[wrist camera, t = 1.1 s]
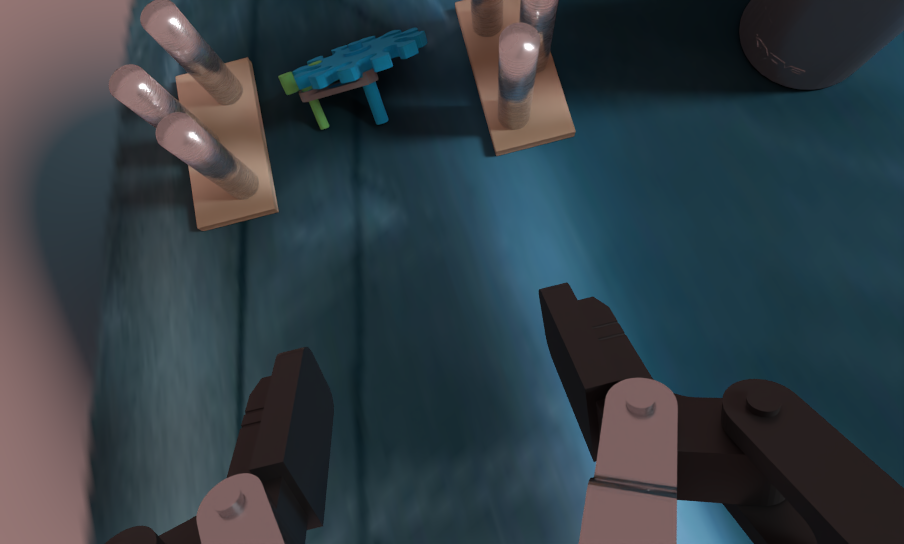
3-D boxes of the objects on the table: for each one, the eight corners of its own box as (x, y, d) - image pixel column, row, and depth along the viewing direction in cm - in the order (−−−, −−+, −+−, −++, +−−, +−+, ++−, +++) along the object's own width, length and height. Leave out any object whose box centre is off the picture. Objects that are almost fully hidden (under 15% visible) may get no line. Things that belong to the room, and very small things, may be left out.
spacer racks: (573, 136, 41) (575, 131, 40) (203, 231, 41) (197, 228, 40) (528, -10, 43) (528, -17, 42) (181, 81, 44) (175, 76, 43)
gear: (426, 10, 42) (415, 37, 33) (447, 86, 45) (441, 127, 37) (295, 50, 44) (254, 85, 35) (324, 120, 47) (293, 167, 39)
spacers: (566, 116, 40) (587, 42, 31) (199, 211, 41) (117, 164, 32) (529, -2, 42) (539, -103, 33) (181, 89, 43) (100, 14, 34)
